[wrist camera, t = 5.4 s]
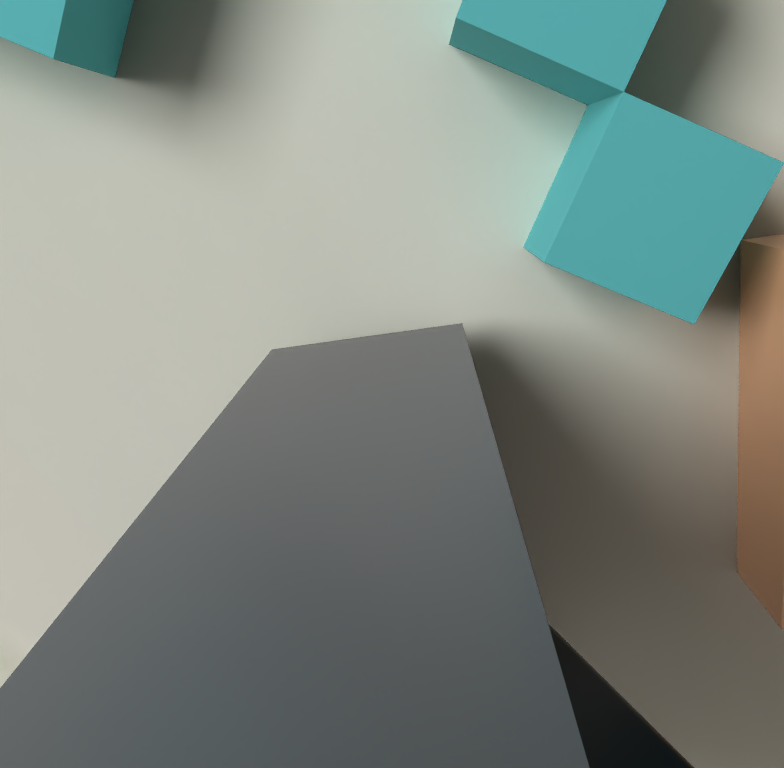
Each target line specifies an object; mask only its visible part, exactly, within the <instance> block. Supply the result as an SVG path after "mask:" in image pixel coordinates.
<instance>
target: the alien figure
mask: <svg viewBox="0 0 784 768" xmlns="http://www.w3.org/2000/svg"><path fill="white" fill-rule="evenodd" d="M133 1H134V0H0V37H2V38H4V39H7V40H9V41H11V42H14V43H16V44H19V45H21V46H24V47H26V48H28V49H31V50H33V51H36V52H38V53H40V54H43V55H45V56H48V57H50V58H52V59H55V60H59V61H62V62H65V63H69V64H72V65H75V66H78V67H82V68H85V69H88V70H92V71H95V72H98V73H101V74H105V75H108V76H111V77H115V76H116V72H117V67H118V63H119V59H120V55H121V51H122V47H123V43H124V38H125V34H126V30H127V26H128V22H129V18H130V14H131V9H132V5H133ZM666 1H667V0H463V1H462V4H461V6H460V9H459V11H458V14H457V17H456V20H455V24H454V28H453V31H452V35H451V39H450V43H449V44H450V45H452V46H454V47H457V48H459V49H461V50H463V51H466V52H468V53H470V54H472V55H475V56H477V57H479V58H482V59H484V60H486V61H488V62H491V63H493V64H495V65H498V66H500V67H502V68H504V69H507V70H509V71H511V72H514V73H516V74H518V75H520V76H523V77H525V78H527V79H529V80H532V81H534V82H536V83H539V84H541V85H543V86H545V87H548V88H550V89H552V90H555V91H557V92H559V93H561V94H564V95H566V96H568V97H570V98H573V99H575V100H577V101H580V102H582V103H584V104H586V105H588V107H587V109H586V111H585V113H584V115H583V118H582V120H581V122H580V124H579V126H578V129H577V131H576V133H575V135H574V137H573V140H572V142H571V144H570V146H569V148H568V151H567V153H566V155H565V157H564V159H563V161H562V164H561V166H560V168H559V170H558V172H557V175H556V177H555V179H554V181H553V183H552V186H551V188H550V190H549V192H548V194H547V197H546V199H545V201H544V203H543V205H542V208H541V210H540V212H539V214H538V216H537V219H536V221H535V223H534V225H533V227H532V230H531V232H530V234H529V236H528V238H527V241H526V243H525V245H524V248H525V249H527V250H528V251H529V252H531V253H532V254H533V255H535V256H536V257H538V258H539V259H540V260H542V261H543V262H545V263H547V264H550V265H552V266H554V267H557V268H559V269H562V270H564V271H566V272H569V273H571V274H574V275H576V276H579V277H581V278H583V279H586V280H588V281H591V282H593V283H595V284H598V285H600V286H603V287H605V288H608V289H610V290H612V291H615V292H617V293H620V294H622V295H624V296H627V297H629V298H632V299H634V300H636V301H639V302H641V303H644V304H646V305H649V306H651V307H653V308H656V309H658V310H661V311H663V312H665V313H668V314H670V315H673V316H675V317H677V318H680V319H682V320H685V321H687V322H690V323H692V324H695V322H696V321H697V319H698V317H699V315H700V313H701V312H702V310H703V308H704V306H705V304H706V303H707V301H708V299H709V297H710V295H711V294H712V292H713V290H714V288H715V286H716V285H717V283H718V281H719V279H720V277H721V276H722V274H723V272H724V270H725V268H726V267H727V265H728V263H729V261H730V259H731V258H732V256H733V254H734V252H735V250H736V249H737V247H738V245H739V243H740V241H741V240H742V238H743V236H744V234H745V232H746V231H747V229H748V227H749V225H750V223H751V222H752V220H753V218H754V216H755V215H756V213H757V211H758V209H759V207H760V206H761V204H762V202H763V200H764V198H765V197H766V195H767V193H768V191H769V189H770V188H771V186H772V184H773V182H774V180H775V179H776V177H777V175H778V173H779V171H780V170H781V168H782V166H783V164H784V163H783V162H781V161H779V160H777V159H774V158H772V157H770V156H768V155H765V154H763V153H761V152H759V151H756V150H754V149H752V148H750V147H747V146H745V145H743V144H741V143H738V142H736V141H734V140H731V139H729V138H727V137H725V136H722V135H720V134H718V133H716V132H713V131H711V130H709V129H707V128H704V127H702V126H700V125H698V124H695V123H693V122H691V121H689V120H686V119H684V118H682V117H680V116H677V115H675V114H673V113H670V112H668V111H666V110H664V109H661V108H659V107H657V106H655V105H652V104H650V103H648V102H646V101H643V100H641V99H639V98H637V97H634V96H632V95H630V94H628V93H625V92H624V91H625V88H626V86H627V84H628V82H629V80H630V78H631V76H632V74H633V71H634V69H635V67H636V65H637V63H638V61H639V59H640V56H641V54H642V52H643V50H644V48H645V46H646V44H647V41H648V39H649V37H650V35H651V33H652V31H653V29H654V27H655V24H656V22H657V20H658V18H659V16H660V14H661V12H662V9H663V7H664V5H665V3H666Z"/></svg>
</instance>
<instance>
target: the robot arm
mask: <svg viewBox="0 0 784 768" xmlns="http://www.w3.org/2000/svg"><path fill="white" fill-rule="evenodd" d="M548 625H549V624H548ZM549 628H550V632H551V635H552V639H553V642H554V646H555V649H556V653H557V656H558V660H559V663H560V667H561V670H562V674H563V677H564V681H565V684H566V688H567V691H568V695H569V698H570V702H571V705H572V709H573V712H574V716H575V719H576V723H577V726H578V729H579V733H580V736H581V740H582V743H583V747H584V750H585V754H586V757H587V761H588V764H589V768H694V767H693V766H692V765H691V764H690V763H689V762H688V761H687V760H686V759H685V758H684V757H683V756H682V755H681V754H680V753H679V752H678V751H677V750H676V749H675V748H674V747H673V746H672V745H670V744H669V743H668V742H667V741H666V740H665V739H664V738H663V737H662V736H661V735H660V734H659V733H658V732H657V731H656V730H655V729H654V728H653V727H652V726H651V725H650V724H649V723H648V722H647V721H646V720H645V719H644V718H643V717H642V716H641V715H640V714H639V713H638V712H637V711H636V710H635V709H634V708H633V707H632V706H631V705H630V704H629V703H628V702H627V701H626V700H625V699H624V698H623V697H622V696H621V695H620V694H619V693H618V692H617V691H616V690H615V689H614V688H613V687H612V686H611V685H610V684H609V683H608V682H607V681H606V680H605V679H604V678H603V677H602V676H601V675H600V674H599V673H598V672H597V671H596V670H595V669H594V668H593V667H592V666H591V665H590V664H589V663H588V662H587V661H586V660H585V659H583V658H582V657H581V656H580V655H579V654H578V653H577V652H576V651H575V650H574V649H573V648H572V647H571V646H570V645H569V644H568V643H567V642H566V641H565V640H564V639H563V638H562V637H561V636H560V635H559V634H558V633H557V632H556V631H555V630H554V629H553V628H552V627H551V626H550V625H549Z"/></svg>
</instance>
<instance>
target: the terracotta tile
mask: <svg viewBox="0 0 784 768" xmlns="http://www.w3.org/2000/svg"><path fill="white" fill-rule="evenodd" d="M737 573H738V574H739V576H740V577H741V578H742V579H743V581H744V582H745V583H746V585H747V586H748V587H749V588H750V590H751V591H752V592H753V593H754V595H755V596H756V597H757V598H758V600H759V601H760V602H761V603H762V605H763V606H764V607H765V609H766V610H767V611H768V612H769V614H770V615H771V616H772V617H773V619H774V620H775V621H776V622H777V624H778V625H779V626H780V628H781V629H784V234H779V235H772V236H765V237H758V238H751V239H744V240H741V263H740V343H739V423H738V502H737Z"/></svg>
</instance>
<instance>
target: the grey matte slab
mask: <svg viewBox="0 0 784 768" xmlns="http://www.w3.org/2000/svg"><path fill="white" fill-rule="evenodd" d="M0 768H589V764H588V761H587V757H586V754H585V750H584V747H583V743H582V740H581V736H580V733H579V729H578V726H577V723H576V719H575V716H574V712H573V709H572V705H571V702H570V698H569V695H568V691H567V688H566V684H565V681H564V677H563V674H562V670H561V667H560V663H559V660H558V656H557V653H556V649H555V646H554V642H553V639H552V635H551V632H550V628H549V625H548V621H547V618H546V614H545V611H544V607H543V604H542V600H541V597H540V593H539V590H538V586H537V583H536V579H535V576H534V572H533V569H532V565H531V562H530V559H529V555H528V552H527V548H526V545H525V541H524V538H523V534H522V531H521V527H520V524H519V520H518V517H517V513H516V510H515V506H514V503H513V499H512V496H511V492H510V489H509V485H508V482H507V478H506V475H505V471H504V468H503V464H502V461H501V457H500V454H499V450H498V447H497V443H496V440H495V436H494V433H493V429H492V426H491V422H490V419H489V415H488V412H487V408H486V405H485V401H484V398H483V395H482V391H481V388H480V384H479V381H478V377H477V374H476V370H475V367H474V363H473V360H472V356H471V353H470V349H469V346H468V342H467V339H466V335H465V332H464V328H463V325H462V323H461V324H454V325H447V326H440V327H432V328H425V329H418V330H411V331H403V332H396V333H389V334H382V335H374V336H367V337H360V338H353V339H345V340H338V341H331V342H324V343H316V344H309V345H302V346H295V347H287V348H280V349H273V350H271V351H270V353H269V354H268V355H267V356H266V358H265V359H264V360H263V361H262V363H261V364H260V365H259V366H258V368H257V369H256V370H255V371H254V373H253V374H252V375H251V376H250V378H249V379H248V380H247V381H246V383H245V384H244V385H243V386H242V388H241V389H240V390H239V391H238V393H237V394H236V395H235V396H234V398H233V399H232V400H231V401H230V403H229V404H228V405H227V406H226V408H225V409H224V410H223V411H222V413H221V414H220V415H219V416H218V418H217V419H216V420H215V421H214V423H213V424H212V425H211V426H210V428H209V429H208V430H207V431H206V432H205V434H204V435H203V436H202V437H201V439H200V440H199V441H198V442H197V444H196V445H195V446H194V447H193V449H192V450H191V451H190V452H189V454H188V455H187V456H186V457H185V459H184V460H183V461H182V462H181V464H180V465H179V466H178V467H177V469H176V470H175V471H174V472H173V474H172V475H171V476H170V477H169V479H168V480H167V481H166V482H165V484H164V485H163V486H162V487H161V489H160V490H159V491H158V492H157V494H156V495H155V496H154V497H153V499H152V500H151V501H150V502H149V504H148V505H147V506H146V507H145V509H144V510H143V511H142V512H141V514H140V515H139V516H138V517H137V519H136V520H135V521H134V522H133V524H132V525H131V526H130V527H129V528H128V530H127V531H126V532H125V533H124V535H123V536H122V537H121V538H120V540H119V541H118V542H117V543H116V545H115V546H114V547H113V548H112V550H111V551H110V552H109V553H108V555H107V556H106V557H105V558H104V560H103V561H102V562H101V563H100V565H99V566H98V567H97V568H96V570H95V571H94V572H93V573H92V575H91V576H90V577H89V578H88V580H87V581H86V582H85V583H84V585H83V586H82V587H81V588H80V590H79V591H78V592H77V593H76V595H75V596H74V597H73V598H72V600H71V601H70V602H69V603H68V605H67V606H66V607H65V608H64V610H63V611H62V612H61V613H60V615H59V616H58V617H57V618H56V619H55V621H54V622H53V623H52V624H51V626H50V627H49V628H48V629H47V631H46V632H45V633H44V634H43V636H42V637H41V638H40V639H39V641H38V642H37V643H36V644H35V646H34V647H33V648H32V649H31V651H30V652H29V653H28V654H27V656H26V657H25V658H24V659H23V661H22V662H21V663H20V664H19V666H18V667H17V668H16V669H15V671H14V672H13V673H12V674H11V676H10V677H9V678H8V679H7V681H6V682H5V683H4V684H3V686H2V687H1V688H0Z"/></svg>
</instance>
